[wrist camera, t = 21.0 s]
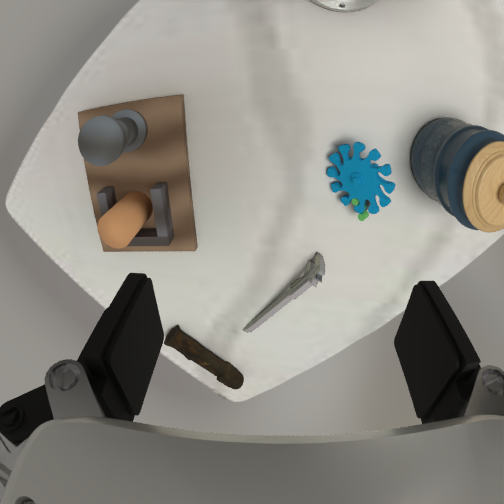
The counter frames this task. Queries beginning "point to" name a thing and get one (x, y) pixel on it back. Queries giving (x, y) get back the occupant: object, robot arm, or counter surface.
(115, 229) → the tan oval solid
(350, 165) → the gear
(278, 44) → the counter surface
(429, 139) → the canister
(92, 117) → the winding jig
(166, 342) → the hand tool
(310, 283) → the caliper
